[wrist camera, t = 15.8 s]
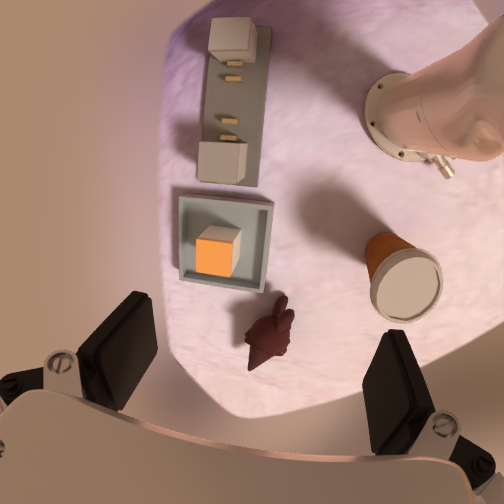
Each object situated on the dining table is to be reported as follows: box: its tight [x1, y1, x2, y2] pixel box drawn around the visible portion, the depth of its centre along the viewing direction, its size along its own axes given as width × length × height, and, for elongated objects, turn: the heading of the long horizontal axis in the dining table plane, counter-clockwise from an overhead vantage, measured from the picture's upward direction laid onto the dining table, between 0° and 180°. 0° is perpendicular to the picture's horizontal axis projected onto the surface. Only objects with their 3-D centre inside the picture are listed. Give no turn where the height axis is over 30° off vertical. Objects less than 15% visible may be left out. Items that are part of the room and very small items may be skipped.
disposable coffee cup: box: [365, 232, 443, 324], centre depth 34 cm, size 10×10×12 cm
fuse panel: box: [200, 27, 272, 187], centre depth 33 cm, size 8×23×3 cm, turn 175°
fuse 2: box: [197, 141, 248, 184], centre depth 34 cm, size 5×5×6 cm
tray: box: [179, 193, 274, 293], centre depth 41 cm, size 13×13×2 cm
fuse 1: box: [208, 17, 258, 63], centre depth 28 cm, size 5×5×6 cm
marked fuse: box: [196, 225, 241, 277], centre depth 39 cm, size 5×5×6 cm
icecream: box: [245, 296, 295, 371], centre depth 44 cm, size 7×7×15 cm
